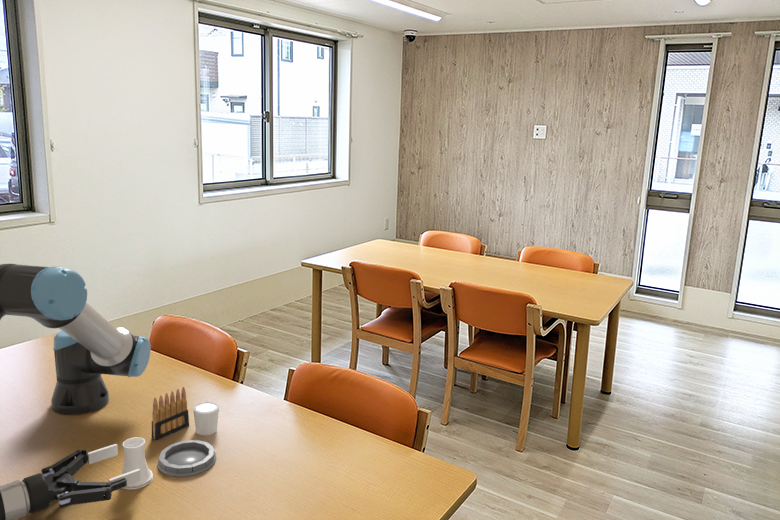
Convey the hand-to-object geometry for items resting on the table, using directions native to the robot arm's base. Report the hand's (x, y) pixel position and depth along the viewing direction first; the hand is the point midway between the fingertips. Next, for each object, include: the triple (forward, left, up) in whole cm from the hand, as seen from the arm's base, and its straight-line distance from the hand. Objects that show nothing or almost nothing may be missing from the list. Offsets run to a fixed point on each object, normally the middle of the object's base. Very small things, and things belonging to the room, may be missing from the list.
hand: (128, 461), depth 140 cm
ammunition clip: (-16, +18, -6) cm, 25 cm away
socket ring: (0, +15, -6) cm, 16 cm away
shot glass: (-11, +26, -6) cm, 29 cm away
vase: (0, +2, -6) cm, 6 cm away
